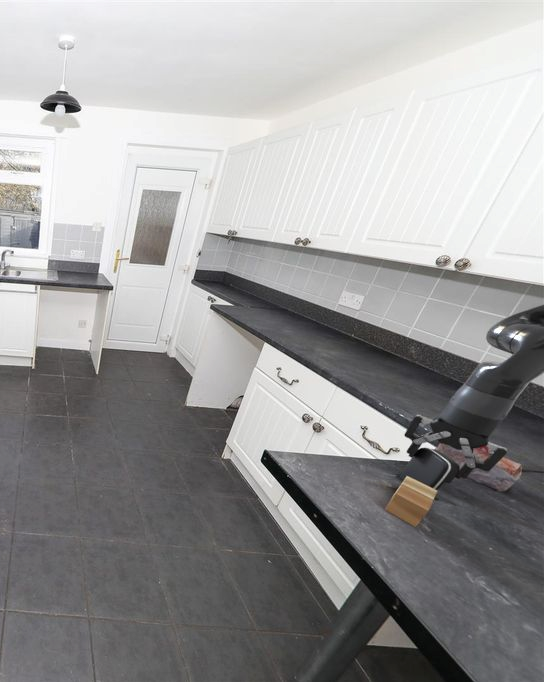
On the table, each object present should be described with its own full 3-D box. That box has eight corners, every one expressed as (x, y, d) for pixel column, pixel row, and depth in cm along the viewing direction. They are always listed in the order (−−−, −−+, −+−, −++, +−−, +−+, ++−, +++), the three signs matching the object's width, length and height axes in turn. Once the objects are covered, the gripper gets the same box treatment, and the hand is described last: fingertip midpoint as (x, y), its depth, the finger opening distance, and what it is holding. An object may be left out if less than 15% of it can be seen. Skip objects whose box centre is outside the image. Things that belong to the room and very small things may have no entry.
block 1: (396, 491, 81) (407, 475, 79) (425, 506, 77) (437, 490, 75) (390, 499, 78) (402, 483, 76) (421, 515, 74) (433, 499, 72)
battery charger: (438, 504, 78) (467, 467, 74) (420, 501, 78) (449, 464, 74) (411, 481, 85) (437, 446, 80) (395, 478, 85) (420, 443, 80)
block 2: (390, 500, 78) (401, 485, 76) (420, 517, 74) (433, 501, 72) (384, 509, 75) (396, 493, 73) (415, 527, 71) (428, 510, 69)
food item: (505, 487, 86) (532, 458, 82) (501, 499, 82) (529, 468, 78) (430, 454, 96) (450, 426, 93) (423, 462, 92) (444, 434, 89)
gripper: (531, 421, 69) (481, 481, 75) (431, 388, 79) (395, 442, 86) (530, 432, 65) (477, 494, 71) (425, 395, 75) (388, 452, 82)
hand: (433, 465), depth 79 cm, fingers closed on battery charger, 7 cm apart
